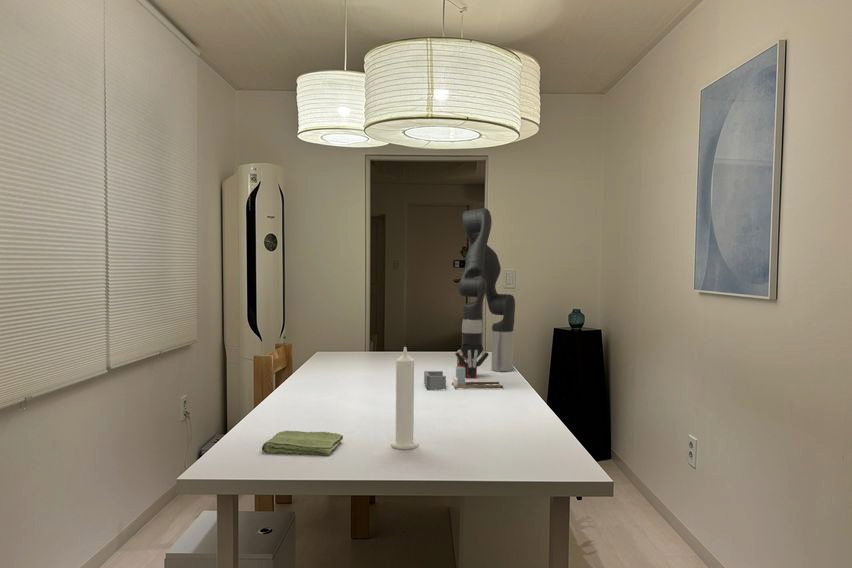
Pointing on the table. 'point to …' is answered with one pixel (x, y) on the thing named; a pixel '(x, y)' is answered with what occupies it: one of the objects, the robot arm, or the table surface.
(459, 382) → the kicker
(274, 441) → the washcloth
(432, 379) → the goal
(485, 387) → the pair of wooden rails
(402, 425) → the candle
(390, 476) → the table surface
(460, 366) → the canned food
